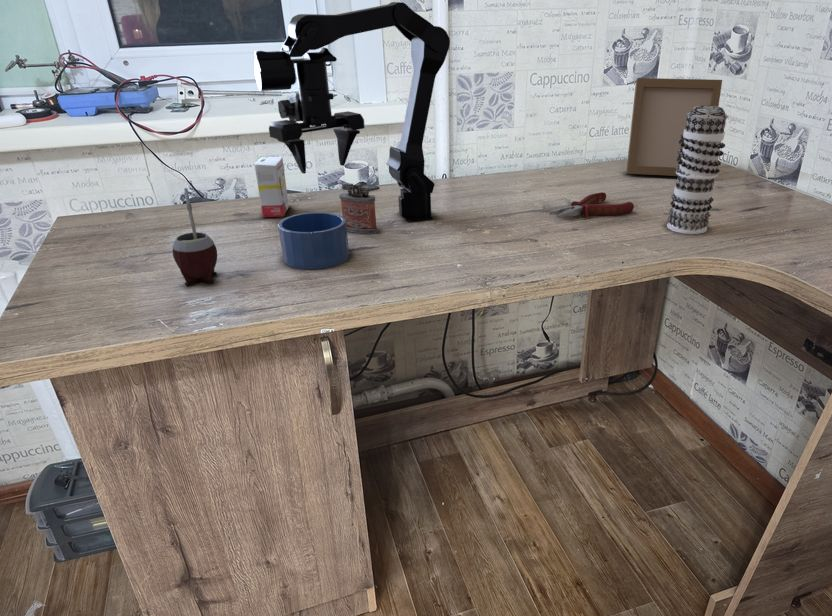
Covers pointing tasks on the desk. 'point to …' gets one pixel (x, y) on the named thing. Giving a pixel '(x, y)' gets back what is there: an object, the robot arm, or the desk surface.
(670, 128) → the photo frame
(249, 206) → the desk surface
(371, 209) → the lighter
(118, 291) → the desk surface
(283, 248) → the blue round bin
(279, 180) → the ink box
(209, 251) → the mate gourd
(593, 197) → the pliers
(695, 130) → the decorative candle
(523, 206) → the desk surface
